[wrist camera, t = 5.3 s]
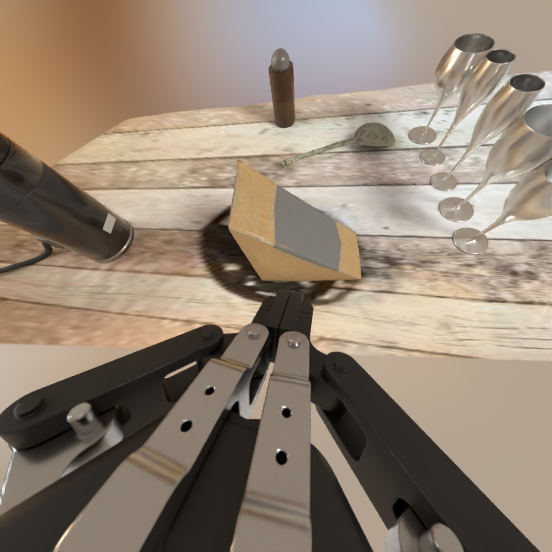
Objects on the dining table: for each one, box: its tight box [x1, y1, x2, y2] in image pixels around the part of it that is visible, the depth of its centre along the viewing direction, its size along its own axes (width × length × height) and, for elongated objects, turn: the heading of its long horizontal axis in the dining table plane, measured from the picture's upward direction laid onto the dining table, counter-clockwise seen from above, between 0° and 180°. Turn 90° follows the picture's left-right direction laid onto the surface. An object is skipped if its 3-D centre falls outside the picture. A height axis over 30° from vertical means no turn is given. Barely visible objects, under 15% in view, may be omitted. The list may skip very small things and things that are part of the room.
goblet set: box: [409, 34, 552, 254], centre depth 27 cm, size 28×6×13 cm, turn 3°
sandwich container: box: [228, 160, 361, 281], centre depth 25 cm, size 9×15×15 cm, turn 88°
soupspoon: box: [281, 123, 395, 168], centre depth 37 cm, size 22×3×7 cm
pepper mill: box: [269, 48, 295, 128], centre depth 38 cm, size 4×4×11 cm
